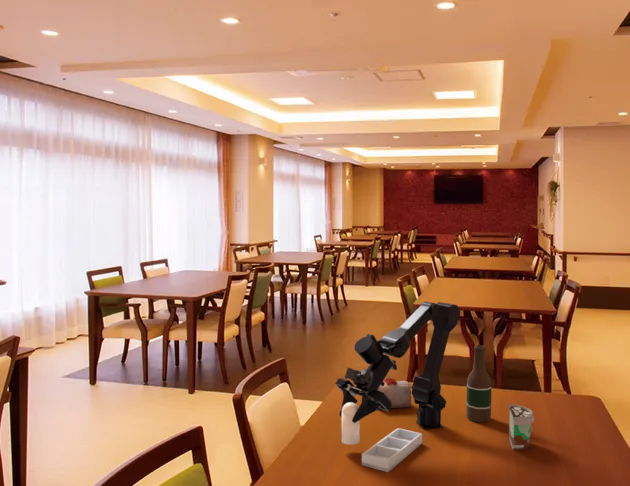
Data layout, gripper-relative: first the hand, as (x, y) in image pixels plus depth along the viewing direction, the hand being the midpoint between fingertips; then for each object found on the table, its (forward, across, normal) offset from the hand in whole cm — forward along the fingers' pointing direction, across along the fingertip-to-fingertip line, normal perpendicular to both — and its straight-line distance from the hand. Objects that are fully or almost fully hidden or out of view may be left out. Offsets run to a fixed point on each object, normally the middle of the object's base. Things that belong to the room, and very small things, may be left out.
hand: (346, 419), depth 162 cm
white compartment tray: (0, +8, +14) cm, 16 cm away
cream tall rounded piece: (+4, 0, +6) cm, 7 cm away
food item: (-19, -20, +34) cm, 44 cm away
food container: (-24, +27, +38) cm, 52 cm away
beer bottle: (-29, +6, +44) cm, 53 cm away
